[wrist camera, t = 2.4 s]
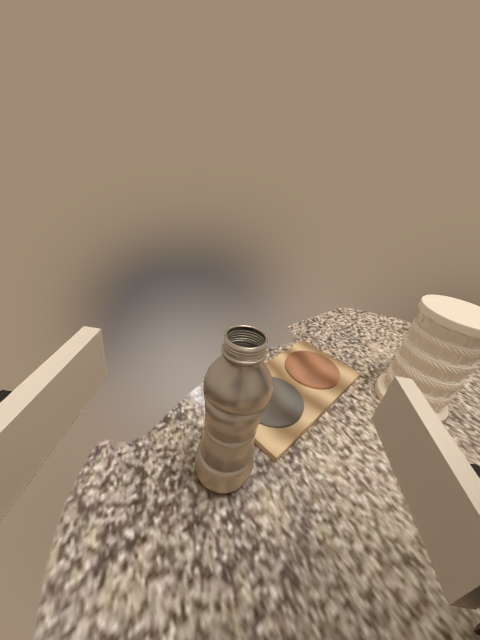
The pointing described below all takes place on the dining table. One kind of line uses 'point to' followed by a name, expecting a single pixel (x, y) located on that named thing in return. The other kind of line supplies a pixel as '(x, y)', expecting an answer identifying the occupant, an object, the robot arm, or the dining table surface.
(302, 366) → the board
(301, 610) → the dining table surface
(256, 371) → the plastic bottle
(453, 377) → the decorative container
